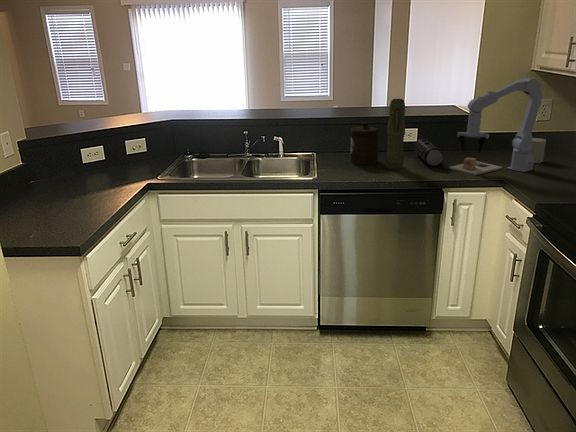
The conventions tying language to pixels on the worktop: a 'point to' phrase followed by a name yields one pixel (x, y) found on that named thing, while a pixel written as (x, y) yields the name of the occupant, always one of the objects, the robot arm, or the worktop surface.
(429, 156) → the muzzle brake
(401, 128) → the olive rounded pillar
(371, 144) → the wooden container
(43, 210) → the worktop surface
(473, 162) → the plug
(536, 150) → the can
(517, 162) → the robot arm
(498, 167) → the panel
